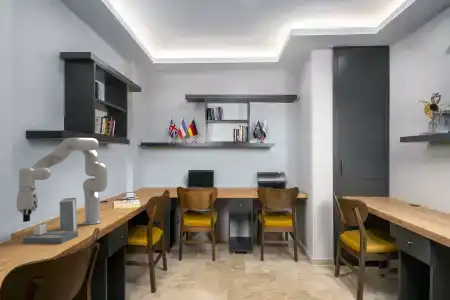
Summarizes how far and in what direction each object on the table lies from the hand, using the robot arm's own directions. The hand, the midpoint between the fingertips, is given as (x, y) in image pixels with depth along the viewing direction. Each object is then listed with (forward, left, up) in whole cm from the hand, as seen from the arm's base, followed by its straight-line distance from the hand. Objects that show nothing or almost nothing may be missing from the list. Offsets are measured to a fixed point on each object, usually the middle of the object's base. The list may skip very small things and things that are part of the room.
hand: (26, 221), depth 165 cm
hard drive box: (-19, +12, -11) cm, 25 cm away
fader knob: (0, +8, -7) cm, 11 cm away
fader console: (0, +15, -10) cm, 18 cm away
